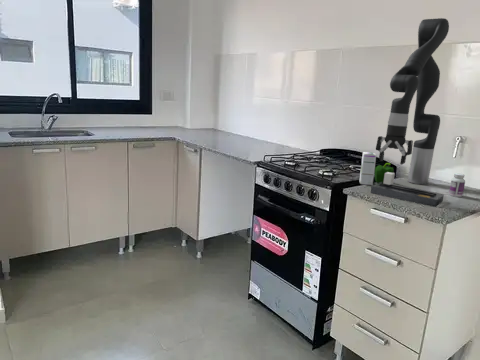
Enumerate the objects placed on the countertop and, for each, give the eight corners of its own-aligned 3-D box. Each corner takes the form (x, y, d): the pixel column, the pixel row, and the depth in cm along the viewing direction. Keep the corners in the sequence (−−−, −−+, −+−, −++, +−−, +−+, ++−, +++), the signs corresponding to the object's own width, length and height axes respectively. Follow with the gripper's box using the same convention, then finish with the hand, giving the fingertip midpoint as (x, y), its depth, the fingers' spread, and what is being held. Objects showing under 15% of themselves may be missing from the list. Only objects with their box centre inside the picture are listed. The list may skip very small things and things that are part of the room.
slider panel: (380, 187, 177) (381, 180, 176) (442, 201, 162) (444, 192, 161) (370, 192, 168) (371, 184, 167) (435, 207, 152) (437, 198, 152)
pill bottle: (460, 194, 174) (465, 173, 171) (463, 197, 169) (467, 176, 166) (447, 193, 175) (451, 172, 173) (449, 196, 170) (453, 174, 168)
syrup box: (372, 185, 181) (377, 154, 177) (359, 184, 182) (363, 153, 178) (371, 182, 186) (375, 152, 183) (358, 181, 187) (362, 151, 184)
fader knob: (386, 183, 171) (387, 171, 170) (393, 185, 169) (394, 173, 168) (382, 185, 168) (384, 173, 167) (389, 186, 166) (391, 174, 165)
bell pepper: (369, 181, 189) (372, 160, 187) (382, 180, 193) (384, 160, 190) (381, 185, 182) (385, 164, 179) (395, 184, 185) (398, 163, 183)
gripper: (418, 126, 161) (411, 164, 165) (383, 122, 169) (377, 159, 173) (412, 126, 155) (406, 166, 159) (377, 122, 164) (371, 160, 167)
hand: (391, 162), depth 166 cm, fingers open, 8 cm apart
